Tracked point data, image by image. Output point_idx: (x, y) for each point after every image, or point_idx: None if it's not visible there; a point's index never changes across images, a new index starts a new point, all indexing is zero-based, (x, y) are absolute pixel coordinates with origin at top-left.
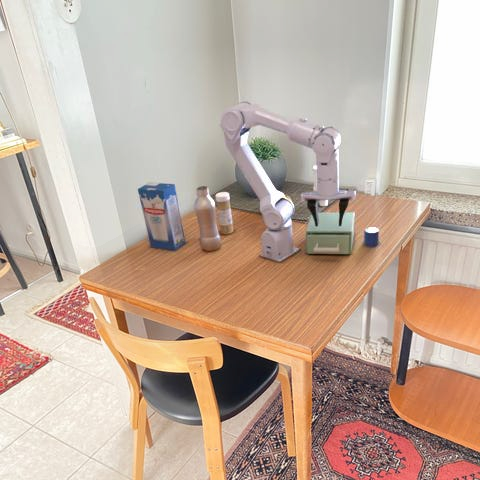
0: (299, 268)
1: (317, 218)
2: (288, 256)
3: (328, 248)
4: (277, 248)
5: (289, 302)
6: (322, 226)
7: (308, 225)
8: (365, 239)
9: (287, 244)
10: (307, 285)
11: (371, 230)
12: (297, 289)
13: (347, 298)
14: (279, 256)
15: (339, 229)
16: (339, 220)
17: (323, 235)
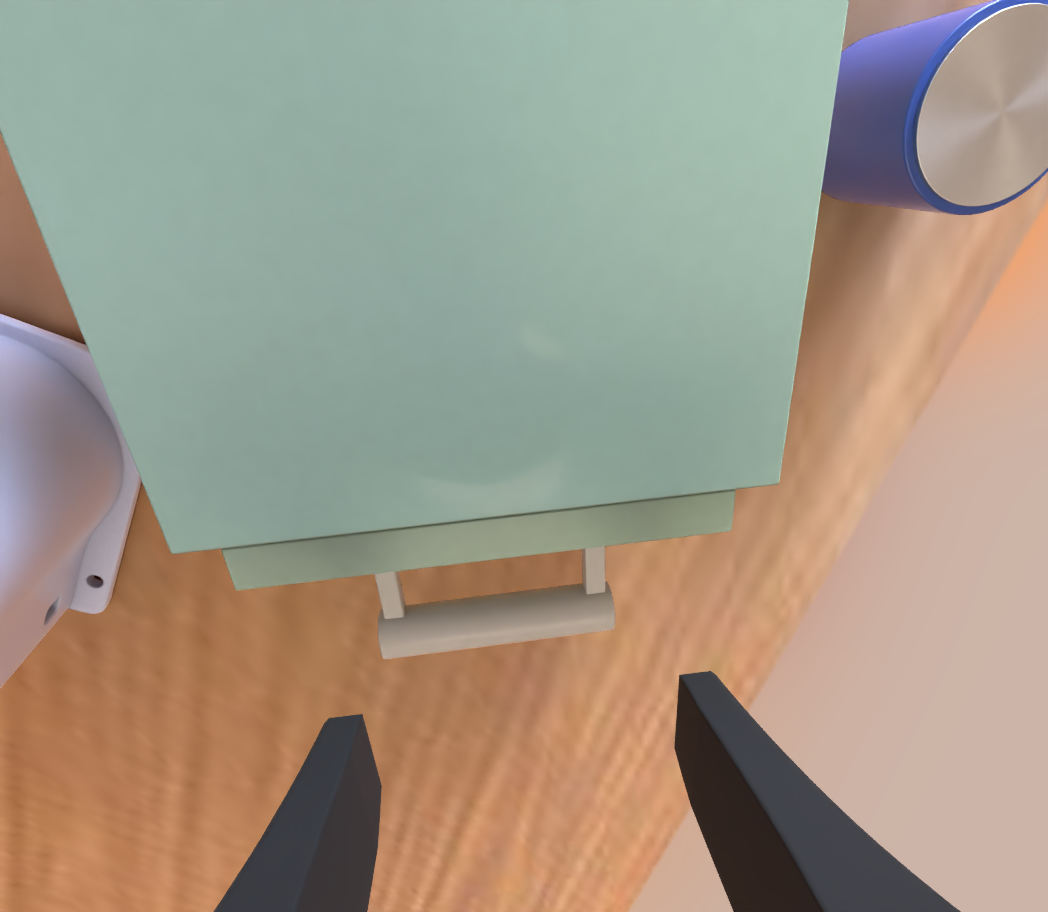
0: (310, 647)
1: (354, 891)
2: (130, 523)
3: (520, 640)
4: (2, 680)
5: (391, 906)
6: (358, 381)
7: (109, 366)
8: (850, 181)
9: (48, 576)
10: (435, 789)
11: (995, 135)
12: (391, 826)
13: (662, 830)
14: (64, 599)
15: (624, 452)
16: (718, 851)
17: (432, 547)
